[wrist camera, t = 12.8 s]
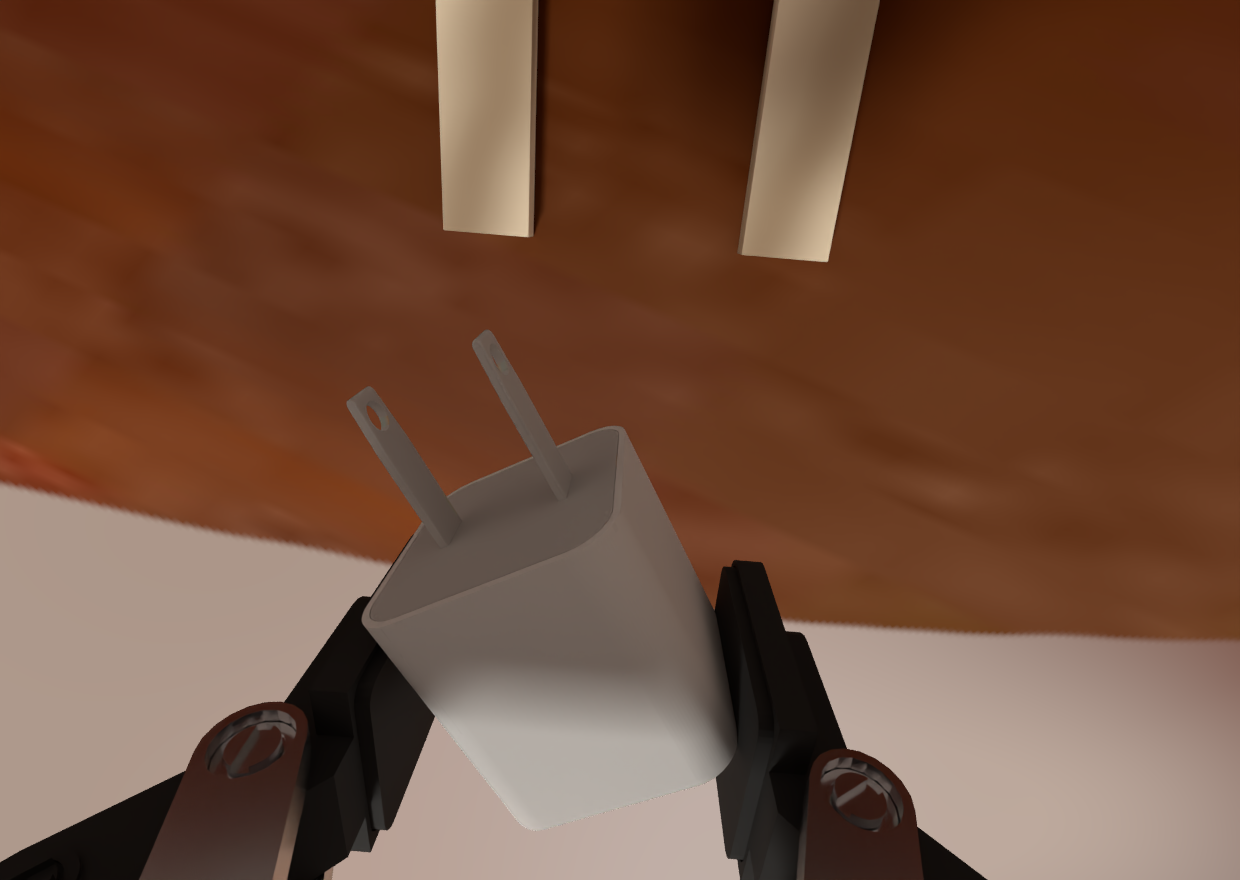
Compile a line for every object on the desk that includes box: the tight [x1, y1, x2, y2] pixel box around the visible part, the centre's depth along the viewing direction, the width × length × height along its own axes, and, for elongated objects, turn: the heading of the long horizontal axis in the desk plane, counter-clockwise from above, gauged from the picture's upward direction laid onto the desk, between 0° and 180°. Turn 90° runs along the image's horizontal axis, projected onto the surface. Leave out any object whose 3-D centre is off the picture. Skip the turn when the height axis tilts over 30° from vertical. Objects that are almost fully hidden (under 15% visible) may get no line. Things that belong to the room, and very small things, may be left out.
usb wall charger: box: [347, 330, 738, 831], centre depth 9 cm, size 4×7×4 cm, turn 25°
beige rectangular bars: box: [436, 0, 880, 262], centre depth 19 cm, size 14×11×1 cm
